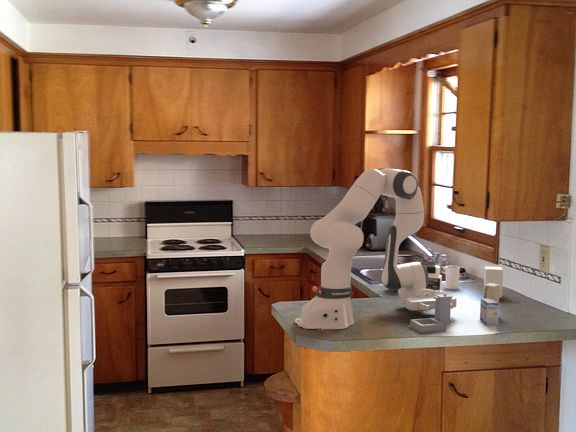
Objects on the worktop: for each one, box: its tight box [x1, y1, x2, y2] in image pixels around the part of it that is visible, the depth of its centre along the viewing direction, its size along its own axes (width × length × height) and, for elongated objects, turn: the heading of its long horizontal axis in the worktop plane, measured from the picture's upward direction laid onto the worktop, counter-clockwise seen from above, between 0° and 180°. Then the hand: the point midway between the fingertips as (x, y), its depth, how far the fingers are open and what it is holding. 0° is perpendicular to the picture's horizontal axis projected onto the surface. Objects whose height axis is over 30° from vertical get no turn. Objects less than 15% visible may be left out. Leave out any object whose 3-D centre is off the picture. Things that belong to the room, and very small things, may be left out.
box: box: [483, 283, 500, 317], centre depth 278 cm, size 5×4×13 cm
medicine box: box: [479, 297, 500, 326], centre depth 269 cm, size 8×4×9 cm, turn 4°
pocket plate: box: [406, 317, 448, 334], centre depth 261 cm, size 11×10×3 cm
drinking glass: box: [444, 265, 461, 290], centre depth 331 cm, size 7×7×10 cm
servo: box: [434, 292, 453, 327], centre depth 267 cm, size 6×4×12 cm, turn 106°
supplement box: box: [483, 266, 504, 299], centre depth 315 cm, size 7×7×13 cm
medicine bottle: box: [426, 264, 443, 291], centre depth 324 cm, size 7×7×12 cm
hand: (440, 307), depth 269 cm, fingers open, 8 cm apart
